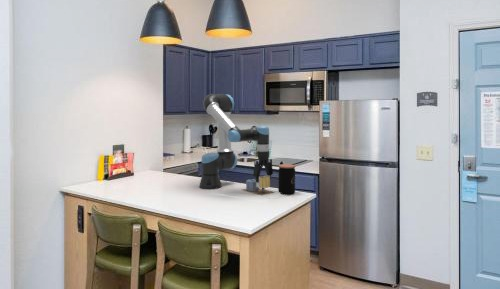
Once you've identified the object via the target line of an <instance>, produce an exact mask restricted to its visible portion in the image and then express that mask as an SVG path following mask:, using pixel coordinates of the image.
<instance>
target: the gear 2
mask: <svg viewBox="0 0 500 289" xmlns="http://www.w3.org/2000/svg"><path fill="white" fill-rule="evenodd" d="M259 177H260V189H262V188H265V189H268V188H270V187H271V176H270V177H266V175H264V176H261V175H260V176H259ZM256 187H257V182H256Z"/></svg>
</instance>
